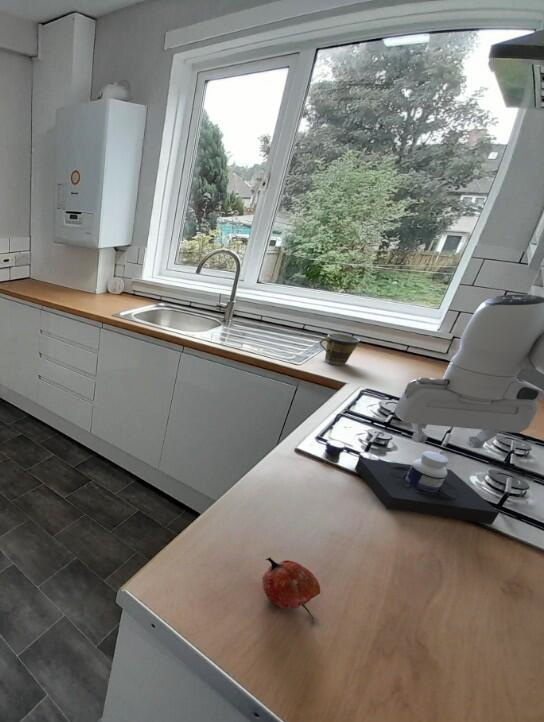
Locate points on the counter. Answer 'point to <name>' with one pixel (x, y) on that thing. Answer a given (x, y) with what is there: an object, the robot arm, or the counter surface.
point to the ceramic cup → (339, 348)
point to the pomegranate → (289, 584)
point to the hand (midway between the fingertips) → (445, 443)
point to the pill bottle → (428, 471)
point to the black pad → (424, 493)
